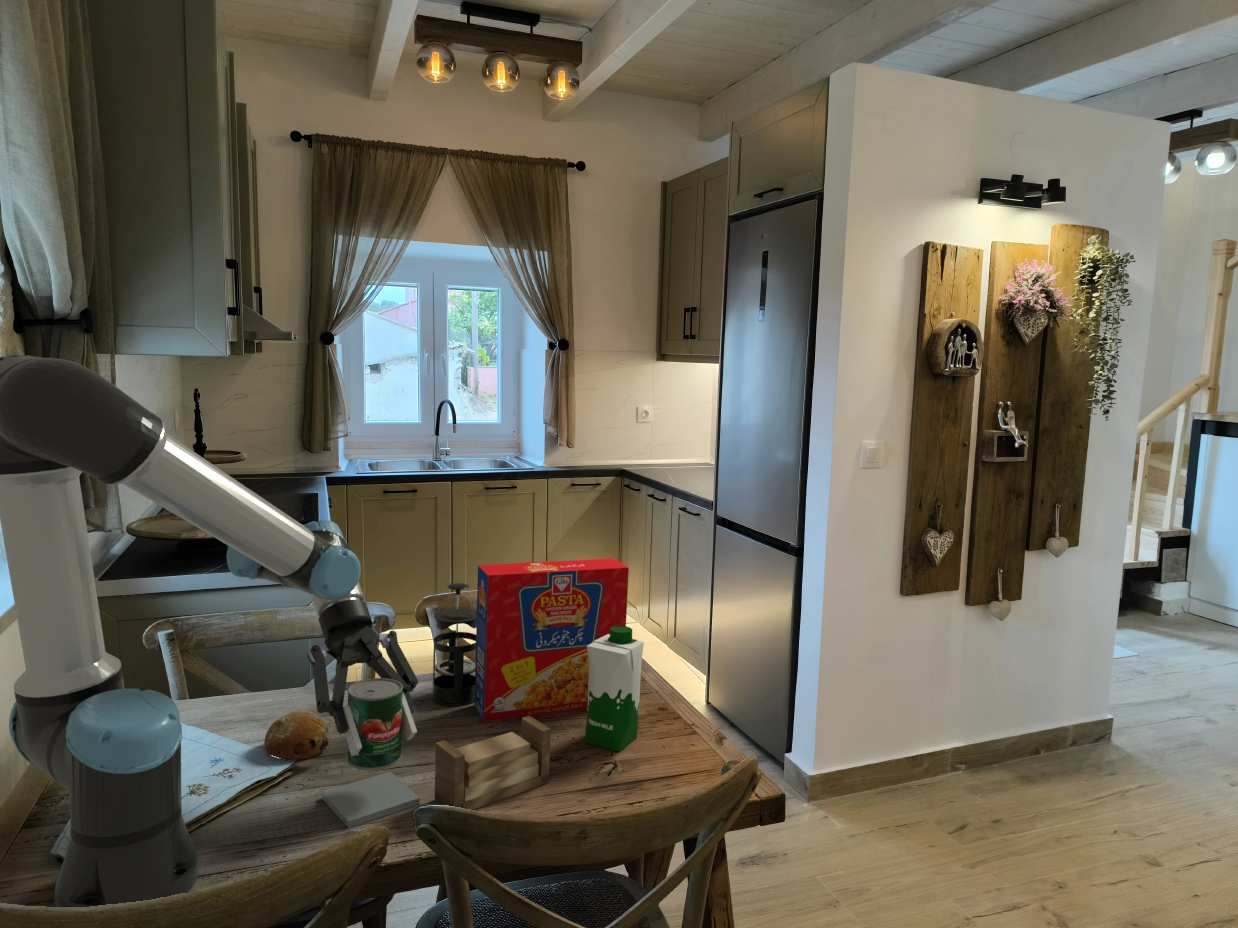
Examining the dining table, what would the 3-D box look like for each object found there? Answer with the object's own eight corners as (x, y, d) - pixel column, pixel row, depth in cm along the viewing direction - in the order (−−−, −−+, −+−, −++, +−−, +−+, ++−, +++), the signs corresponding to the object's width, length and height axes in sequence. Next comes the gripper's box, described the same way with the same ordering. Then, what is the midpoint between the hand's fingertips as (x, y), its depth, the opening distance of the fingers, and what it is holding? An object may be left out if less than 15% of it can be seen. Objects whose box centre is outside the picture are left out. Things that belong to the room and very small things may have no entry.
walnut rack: (454, 816, 120) (455, 757, 119) (434, 798, 125) (435, 742, 124) (548, 782, 131) (550, 728, 130) (527, 767, 136) (529, 715, 135)
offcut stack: (464, 801, 122) (465, 764, 121) (447, 786, 126) (447, 750, 125) (538, 776, 130) (539, 741, 130) (519, 762, 134) (520, 729, 134)
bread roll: (310, 752, 146) (298, 708, 147) (346, 742, 141) (333, 697, 141) (261, 774, 137) (248, 727, 138) (297, 765, 132) (284, 716, 133)
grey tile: (348, 827, 116) (348, 821, 116) (321, 798, 124) (321, 791, 124) (419, 803, 123) (419, 797, 123) (390, 777, 131) (390, 771, 131)
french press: (482, 705, 160) (486, 590, 157) (433, 709, 157) (436, 592, 154) (475, 683, 171) (477, 575, 168) (428, 686, 168) (431, 576, 166)
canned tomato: (370, 741, 129) (370, 674, 127) (412, 752, 126) (413, 683, 124) (335, 763, 121) (335, 692, 120) (379, 775, 118) (380, 702, 117)
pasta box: (484, 721, 153) (488, 575, 150) (474, 705, 160) (478, 565, 157) (622, 704, 164) (628, 567, 161) (607, 689, 171) (613, 558, 168)
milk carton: (643, 736, 150) (649, 630, 147) (620, 755, 142) (626, 643, 139) (601, 725, 154) (606, 621, 151) (577, 743, 146) (581, 634, 143)
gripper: (395, 610, 140) (439, 735, 129) (269, 632, 126) (307, 773, 116) (409, 587, 135) (456, 715, 125) (280, 607, 122) (321, 752, 111)
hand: (384, 743), depth 120 cm, fingers closed on canned tomato, 8 cm apart
